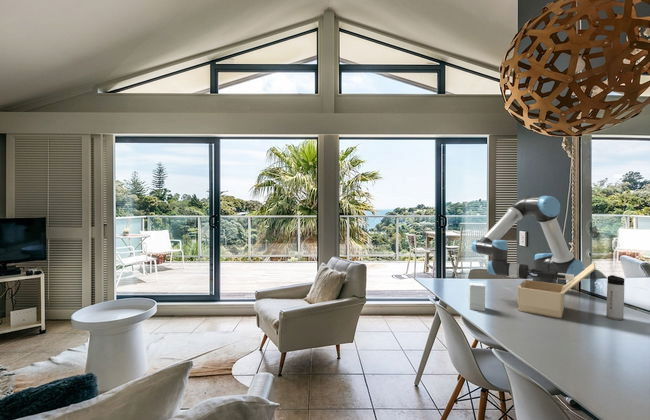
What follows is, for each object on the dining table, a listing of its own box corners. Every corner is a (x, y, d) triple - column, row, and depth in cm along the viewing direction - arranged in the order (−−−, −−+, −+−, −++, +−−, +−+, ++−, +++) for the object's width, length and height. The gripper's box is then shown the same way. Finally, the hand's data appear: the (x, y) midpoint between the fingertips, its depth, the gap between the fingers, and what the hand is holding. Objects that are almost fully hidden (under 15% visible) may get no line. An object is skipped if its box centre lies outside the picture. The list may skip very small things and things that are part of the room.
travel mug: (618, 316, 166) (619, 275, 166) (626, 321, 160) (627, 278, 159) (603, 315, 168) (604, 274, 167) (610, 319, 161) (611, 277, 161)
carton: (523, 300, 192) (524, 279, 191) (564, 307, 180) (564, 284, 180) (516, 310, 173) (517, 287, 173) (561, 318, 162) (562, 293, 162)
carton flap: (593, 262, 172) (594, 263, 171) (564, 285, 179) (565, 286, 179) (594, 268, 155) (595, 269, 155) (562, 293, 163) (563, 294, 162)
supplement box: (485, 311, 172) (485, 286, 172) (469, 309, 175) (469, 285, 174) (483, 307, 179) (484, 283, 179) (468, 305, 182) (468, 281, 181)
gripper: (521, 276, 187) (574, 283, 173) (516, 279, 177) (572, 287, 163) (521, 262, 187) (574, 268, 173) (517, 265, 177) (573, 272, 162)
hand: (573, 277), depth 168 cm, fingers closed
